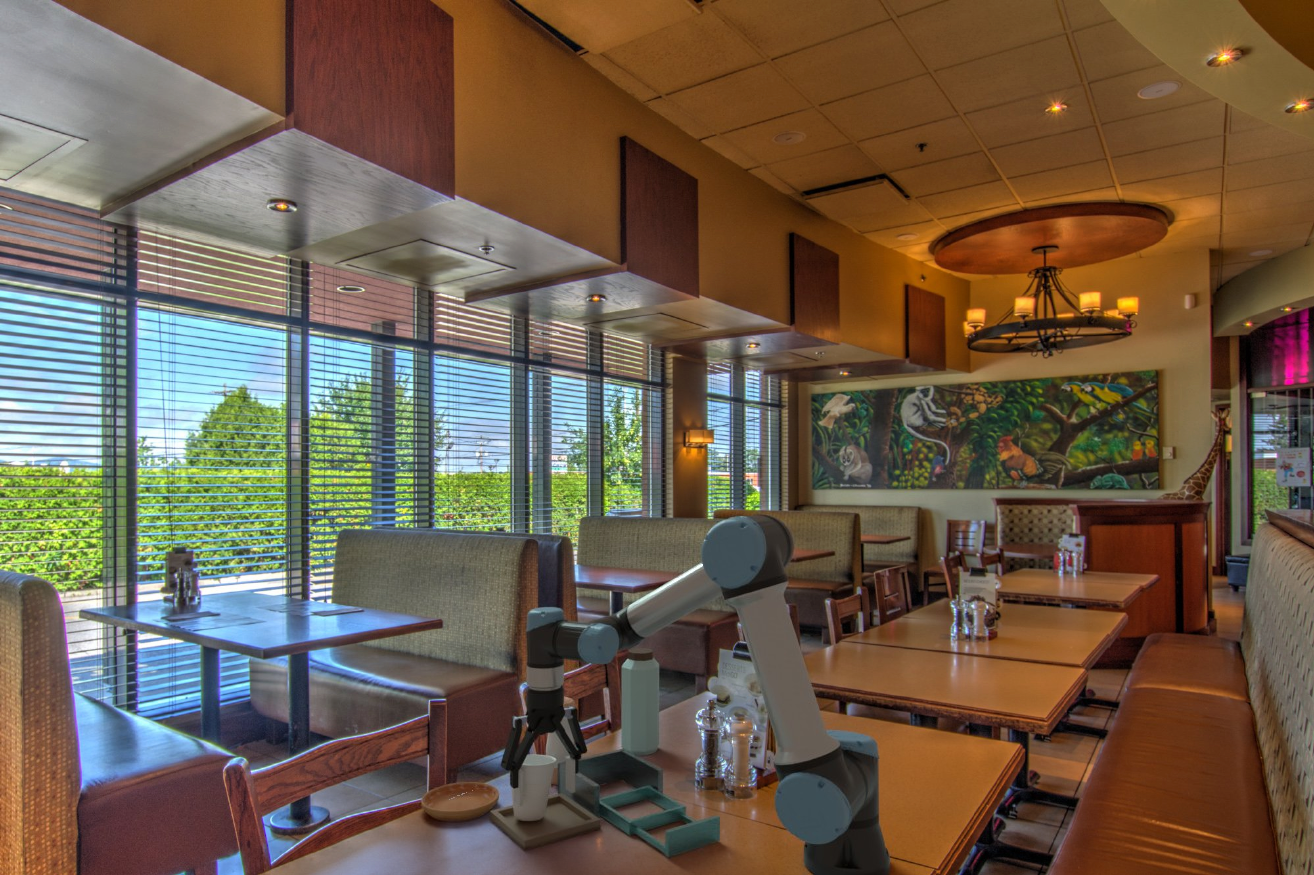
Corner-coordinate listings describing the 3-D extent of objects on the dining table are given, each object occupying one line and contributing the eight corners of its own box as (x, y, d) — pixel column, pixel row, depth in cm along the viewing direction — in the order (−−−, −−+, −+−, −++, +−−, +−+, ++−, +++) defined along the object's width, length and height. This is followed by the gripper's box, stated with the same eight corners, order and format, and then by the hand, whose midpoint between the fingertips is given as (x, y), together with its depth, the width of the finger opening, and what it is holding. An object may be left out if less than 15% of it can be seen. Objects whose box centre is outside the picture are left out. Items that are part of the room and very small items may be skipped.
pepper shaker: (579, 782, 185) (580, 696, 186) (548, 786, 183) (549, 700, 184) (571, 771, 192) (571, 689, 193) (540, 775, 189) (541, 692, 190)
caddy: (723, 840, 155) (723, 815, 156) (664, 859, 148) (664, 833, 148) (648, 796, 177) (648, 775, 177) (594, 811, 169) (594, 788, 169)
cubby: (662, 800, 175) (662, 769, 175) (594, 818, 165) (594, 786, 166) (623, 777, 188) (623, 748, 189) (557, 793, 179) (557, 763, 179)
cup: (546, 826, 158) (548, 766, 160) (497, 822, 160) (500, 763, 162) (559, 811, 168) (562, 755, 170) (513, 808, 169) (516, 753, 171)
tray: (600, 828, 161) (600, 819, 161) (524, 850, 152) (524, 840, 152) (561, 801, 174) (561, 792, 174) (489, 819, 165) (489, 810, 165)
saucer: (417, 801, 175) (417, 786, 175) (492, 790, 181) (492, 776, 181) (425, 831, 160) (425, 816, 161) (505, 818, 166) (506, 804, 166)
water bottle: (616, 745, 210) (616, 647, 211) (653, 741, 213) (653, 645, 214) (626, 758, 201) (626, 656, 202) (665, 754, 204) (665, 653, 205)
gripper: (586, 673, 174) (586, 778, 173) (483, 690, 161) (482, 804, 160) (604, 681, 168) (604, 790, 167) (498, 699, 155) (498, 817, 154)
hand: (544, 796), depth 163 cm, fingers open, 11 cm apart
